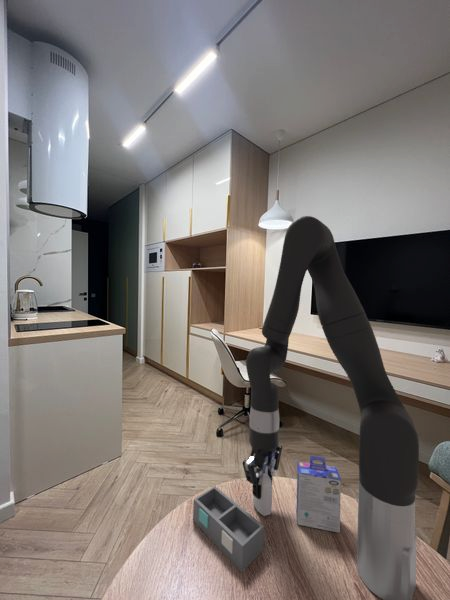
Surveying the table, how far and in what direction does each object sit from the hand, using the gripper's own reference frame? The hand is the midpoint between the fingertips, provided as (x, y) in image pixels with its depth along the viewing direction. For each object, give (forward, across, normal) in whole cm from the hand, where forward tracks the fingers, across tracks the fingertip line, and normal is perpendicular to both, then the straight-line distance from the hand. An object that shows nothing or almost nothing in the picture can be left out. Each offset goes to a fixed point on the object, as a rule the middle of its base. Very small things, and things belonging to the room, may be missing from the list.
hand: (262, 492), depth 64 cm
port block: (+4, -12, +1) cm, 12 cm away
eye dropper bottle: (+4, 0, 0) cm, 4 cm away
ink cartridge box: (+5, +8, -11) cm, 14 cm away
